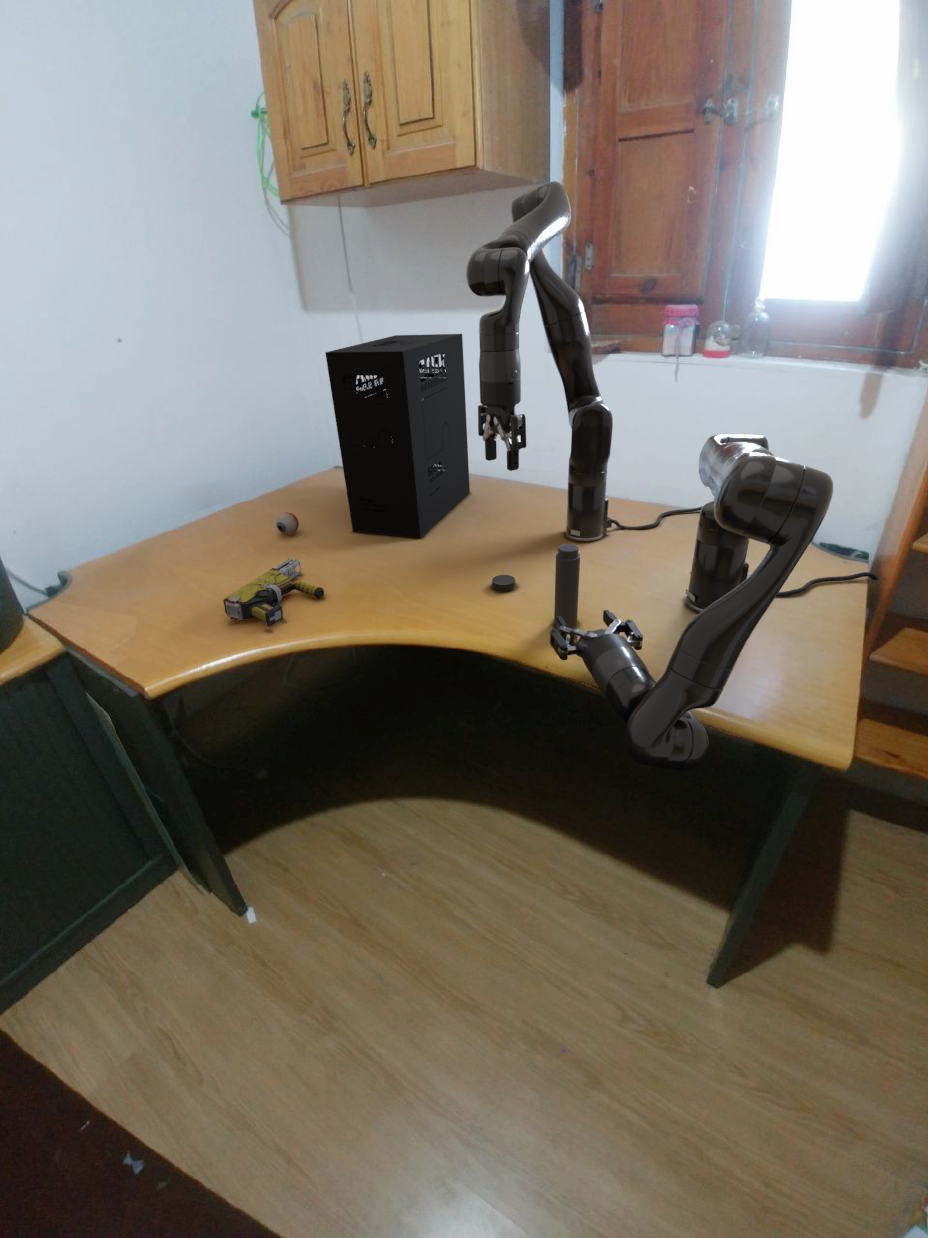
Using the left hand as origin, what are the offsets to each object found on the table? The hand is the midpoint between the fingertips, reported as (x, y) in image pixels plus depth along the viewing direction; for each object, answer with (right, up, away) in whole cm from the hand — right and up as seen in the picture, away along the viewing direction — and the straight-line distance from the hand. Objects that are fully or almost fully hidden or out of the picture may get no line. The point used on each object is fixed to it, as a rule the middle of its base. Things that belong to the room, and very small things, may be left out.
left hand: (501, 464), depth 118 cm
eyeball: (-55, -7, +47) cm, 73 cm away
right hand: (+13, -30, -13) cm, 35 cm away
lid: (+1, -22, +13) cm, 26 cm away
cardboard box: (-22, +1, +58) cm, 62 cm away
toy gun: (-46, -26, +13) cm, 54 cm away
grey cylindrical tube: (+12, -31, -1) cm, 34 cm away
